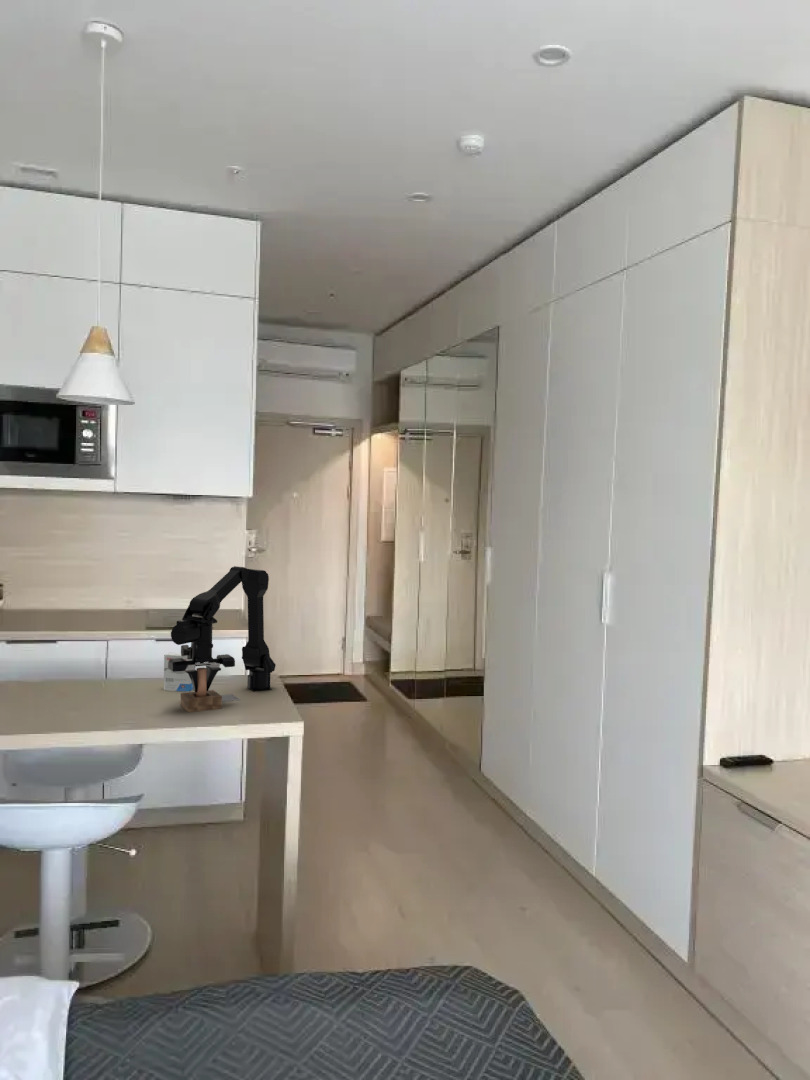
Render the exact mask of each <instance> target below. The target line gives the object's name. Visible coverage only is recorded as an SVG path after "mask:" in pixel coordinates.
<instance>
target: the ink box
mask: <svg viewBox="0 0 810 1080" xmlns="http://www.w3.org/2000/svg"><path fill="white" fill-rule="evenodd" d="M175 658H182V659H184V660H185V661H190V660H192V659H187V656H181V652H173V651H172V652H167V653H166V654H164V656H163V659H164V660H163V691H173V692H174V691H175V692H187V691H189V692H192V690H194V688H193V685H192V682H191V679H190V676H189V674H188V673H186V672H185V671H178V672H173V671H171V670H170V669H169V668H168V662H169V660H170V659H175Z"/></svg>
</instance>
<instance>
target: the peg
mask: <svg viewBox="0 0 810 1080" xmlns="http://www.w3.org/2000/svg"><path fill="white" fill-rule="evenodd" d="M196 670H197V678H198V688H197V692H196V697H204V696H206V694H207V668H206V667H197V668H196Z"/></svg>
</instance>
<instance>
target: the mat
mask: <svg viewBox="0 0 810 1080" xmlns="http://www.w3.org/2000/svg"><path fill="white" fill-rule="evenodd" d="M220 695H221V696H222V703H225V702H234V701H235V702H236V701H241V699H240V698H239V697H237V696H236V695H234V694H233V693H227V694H220Z"/></svg>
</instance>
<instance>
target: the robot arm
mask: <svg viewBox="0 0 810 1080" xmlns="http://www.w3.org/2000/svg"><path fill="white" fill-rule="evenodd" d="M269 580H270V577H269V573H267V571H266V570H263V569H253V568H247V567H245V566H235V565H234V566H231V567H230V569H229V571H228V572H227V573H226V574H225V575H223V577H221V578H220V580H218V582H216V583H215V584H214V585H213V586H212V587H211V588H210V589H208V590H207V591H203V592H200V593H199V594H197V595H196V596H194V597H193V598H191V600H189V601H190V602H189V605H188V606H187V608H186V610H185V613H184V614H183V616H182V618H181V620H176V625H173V627H172V628H171V631H170V638H171V641H172V642H173V643H174V644H176V645H177V646H179V645H180V653H181V656H187V659H192V660H190V661H185V660H184V659H182V658H175V659H170V660H169V662H168V668H169V669H170V670H171V671H173V672H178V671H185V672H186V673H188V674H189V676H190V679H191V682H192V685H193V690H194V691H193V692H197V688H198V678H197V669H196V667H204V666H205V668H207V691H209V690H210V688H211V685H212V683H213V681H214V680H215V677H216V675H217V674H218V672H219V671H222V668H221V667H220V666H221V665H222V666H223V667H224V668H230V667H231V668H233V667H235V666H236V660H235V657H234V656H233V655H230V654H217V656H216V658H215V657H214V658H213V648H214V644H213V625H214V624H217V623H218V620H217V619H216V618H215V617H214V616H215V615H216V613H217V612H218V611H219V609H220V607H221V603H222V601H223V600H224V599H225V598H226V597H227V596H228V595H229V594H230V593H231V592H232V591H233V590H234V589H235V588H236V587H237V586H239V585H240V583H241V587H242V590H243V592H244V594H245V595H246V597H247V631H248V632H247V636H248V637H247V639H248V641H247V643H246V644H245V645H244V646H242V647H241V652H242V653H241V654H242V655H241V659H242V663H243V664H244V668H245V671H248V672H249V673H248V675H247V684H246V685H247V686H246V688H247V689H248V690H250V691H252V692H263V691H264V692H265V691H272V690H273V688H272V687H271V673H273V672H275V669H276V667H277V666H276V665H277V664H276V663H275V662H274V660H273V659H272V658H271V656H270V655H271V654H270V648H269V645H267V643H266V641H265V635H264V634H265V633H264V632H265V627H264V624H265V623H264V618H265V617H264V596H265V595H266V593H267V591H268V588H269ZM189 643H190V646H189Z"/></svg>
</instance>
